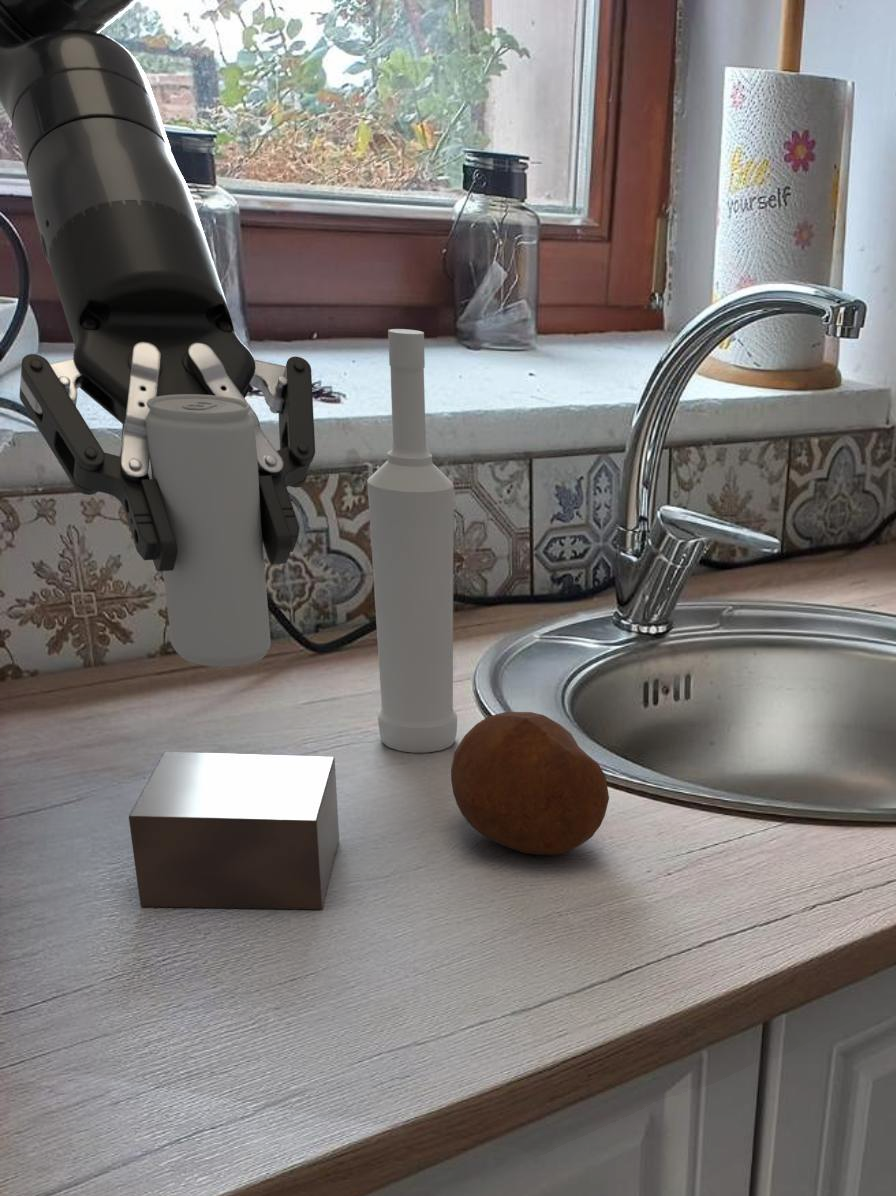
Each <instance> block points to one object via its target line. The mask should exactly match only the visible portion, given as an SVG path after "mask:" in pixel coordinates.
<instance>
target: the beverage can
mask: <svg viewBox="0 0 896 1196" xmlns="http://www.w3.org/2000/svg"><path fill="white" fill-rule="evenodd" d="M147 406H148V408H149V409H150V410H151V411H150V412H149V414H148V415H147V416H146V429H147V437H148V446H149V453H150V461H149V464H150V470H151V471H150V472H151V479H156V480H157V483H158V486H159V489H160V492H161V496H162V499H163V502H164V505H165V508H166V511H167V515H168V518H169V521H170V524H171V527H172V530H173V534H174V537H175V540H176V544H177V558H176V562H175V566H174V570H173V571H162V574H163V582H164V583H163V584H164V593H165V600H166V601H165V602H166V608H167V617H168V627H169V635H170V636H169V637H170V643H171V646H172V648H173V650H174V651H175V652H176V654H178V655H179V656H180V657H181V659H183V660H185V661H186V662H189V663H191V664H194V665H198V666H202V667H203V666H204V667H213V668H233V667H234V668H235V667H240V666H241V667H242V666H247V665H251V664H254V663H256V662H259V661H261V660H262V659H263V658H265V656H266V655H267V654H268V652H269V649H270V648H271V643H272V642H271V641H272V640H271V630H270V618H269V617H270V616H269V605H268V594H267V593H268V592H267V582H266V581H267V579H266V568H265V567H266V566H265V556H264V544H263V540H262V525H261V509H260V493H259V476H258V462H257V448H256V436H255V424H254V420H253V419H252V418H251V417H250V416H249V415H248V412H249V410H250V407H251V404H250V403H248V401H247V402H245V401H242V400H239V399H235V398H230V397H223V396H214V395H199V394H178V395H165V396H158V397H153V398H151V399H149V400H148V401H147Z"/></svg>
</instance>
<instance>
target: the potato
mask: <svg viewBox="0 0 896 1196" xmlns="http://www.w3.org/2000/svg"><path fill="white" fill-rule="evenodd" d="M450 781H451V787H452V794H453V796H454V800H455V803H456V805H457V807H458V809H459V811H460V813H461V815H462V816H463V818H464V819H465V820H466V822H467V823H468V824H469V825H470V826H471V827H472V828H473V829H474V830H475V831H476V832H477V833H479V834H481V835H482V836H484V837H485V838H487V839H489V840H491V841H493V842H495V843H498V844H500V845H502V846H504V847H507V848H509V849H511V850H514V851H517V852H519V853H523V854H529V855H537V856H538V855H539V856H555V855H558V854H563V853H567V852H569V851H572V850H574V849H576V848H578V847H580V846H581V845H583V844H584V843H586V842H588V841H589V840H590V839H592V837H593V836H594V835H595V834H596V832H597V831H598V830H599V828H600V827H601V825H602V823H603V821H604V819H605V817H606V814H607V810H608V809H607V808H608V805H609V800H610V795H609V788H608V782H607V777H606V775H605V772H604V771H603V769H602V767H601V765H600V764H599V762H598V761H596V760H595V759H593V758H592V757H591V756H589V754H588V753H586V752H585V751H584V750H583V748H581V747H580V745H579V744H578V742H577V741H576V739H575V738H574V736H573V734H572V733H571V732H570V731H569V730H568V729H566V728H565V727H564V726H563V725H561V724H560V723H559V722H557V721H555V720H553V719H552V718H549V717H548V716H546V715H544V714H541V713H537V712H532V711H505V712H500V713H496V714H494V715H490V716H487V717H485V718H483V719H482V720H481V721H479V722H477V723H476V724H474V725H473V726H472V728H471V729H470V730H469V731H468V732H467V733H466V734H465V735H464V736H463V738H462V739H461V741H460V742H459V744H458V745H457V747H456V749H455V750H454V753H453V756H452V761H451V767H450Z"/></svg>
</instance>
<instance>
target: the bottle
mask: <svg viewBox="0 0 896 1196" xmlns="http://www.w3.org/2000/svg"><path fill="white" fill-rule="evenodd" d="M387 333H388V334H387V335H388V336H387V338H388V358H389V359H388V361H389V362H388V363H389V367H390V393H391V395H390V397H391V427H392V429H391V430H392V447H391V449H390V450H389V451H387V454H386V455H387V457H386V458H387V460H386V461H385V462H384V463H383V464H382V465H381V466H380V467H378V469H377V470H376V471H374V472H373V473H372V475H370V477H368V478H367V480H366V481H367V493H368V494H367V495H368V496H367V498H368V511H369V512H368V513H369V528H370V541H371V542H370V543H371V558H372V559H371V560H372V576H373V591H374V606H375V608H374V609H375V624H376V638H377V655H378V669H379V684H380V685H379V687H380V703H381V708H379V710H378V711H377V723H378V729H379V730H378V731H379V737H380V739H381V742H382V744H384V745H385V746H387V747H388V748H389V749H393V750H396V751H398V752H405V753H406V752H407V753H412V754H413V753H414V754H415V753H416V754H417V753H419V754H420V753H423V754H424V753H432V752H440V751H443V750H445V749H448V748H450V747H451V746H453V744H454V743H455V741H456V739H457V738H456V737H457V731H458V715H457V712H456V711H455V709H454V690H453V689H454V484H453V482H452V481H451V479H449V478H448V477H447V476H446V475H445V474H444V473H443V472H442V471H441V470H440V469H439V468H438V467H437V466H436V464H434V463H433V454H431V453H430V452H429V451H428V450H427V436H426V430H427V429H426V398H425V366H426V363H425V360H426V359H425V332H424V331H421V330H416V329H406V328H391V329H388V331H387Z"/></svg>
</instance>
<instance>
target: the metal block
mask: <svg viewBox="0 0 896 1196" xmlns="http://www.w3.org/2000/svg"><path fill="white" fill-rule="evenodd" d="M335 760H336V759H335V757H334V756H319V755H318V756H317V755H316V756H313V755H287V754H285V755H284V754H252V753H225V752H224V753H223V752H221V753H220V752H193V751H192V752H189V751H163V753H162V754H161V757H160V759H159V760H158V762H157V763H156V766H155V767H154V769H153V771H152V773H151V775H150V777H149V779H148V780H147V782H146V784H145V786H144V788H143V790H142V791H141V793H140V795H139V797H138V799H137V801H136V802H135V804H134V806H133V808H132V809H131V811H130V813H129V815H128V822H129V830H130V838H131V843H132V844H131V847H132V853H133V860H134V861H133V862H134V868H135V876H136V884H137V891H138V899H139V906H140V907H149V908H150V907H152V908H153V907H154V908H208V909H209V908H211V909H215V908H216V909H266V910H267V909H272V910H273V909H274V910H276V909H277V910H279V909H280V910H323V907H324V904H325V899H326V895H327V891H328V887H329V883H330V878H331V874H332V871H333V866H334V862H335V858H336V854H337V850H338V846H339V842H340V828H339V827H340V826H339V811H338V810H339V809H338V793H337V776H336V761H335Z"/></svg>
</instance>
